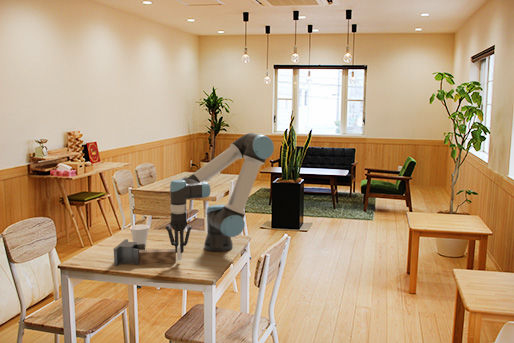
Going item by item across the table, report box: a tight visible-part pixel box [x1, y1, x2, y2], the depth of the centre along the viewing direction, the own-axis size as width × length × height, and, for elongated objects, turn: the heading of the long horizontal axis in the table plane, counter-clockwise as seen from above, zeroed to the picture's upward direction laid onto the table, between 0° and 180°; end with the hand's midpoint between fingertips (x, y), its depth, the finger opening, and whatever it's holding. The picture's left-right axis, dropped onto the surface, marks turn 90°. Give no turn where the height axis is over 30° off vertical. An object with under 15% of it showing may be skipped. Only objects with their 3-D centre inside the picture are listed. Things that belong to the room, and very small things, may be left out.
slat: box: [139, 248, 177, 265], centre depth 249 cm, size 18×4×6 cm, turn 95°
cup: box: [129, 224, 150, 247], centre depth 272 cm, size 10×10×11 cm
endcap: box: [113, 238, 146, 267], centre depth 250 cm, size 12×15×8 cm
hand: (179, 259), depth 247 cm, fingers closed
